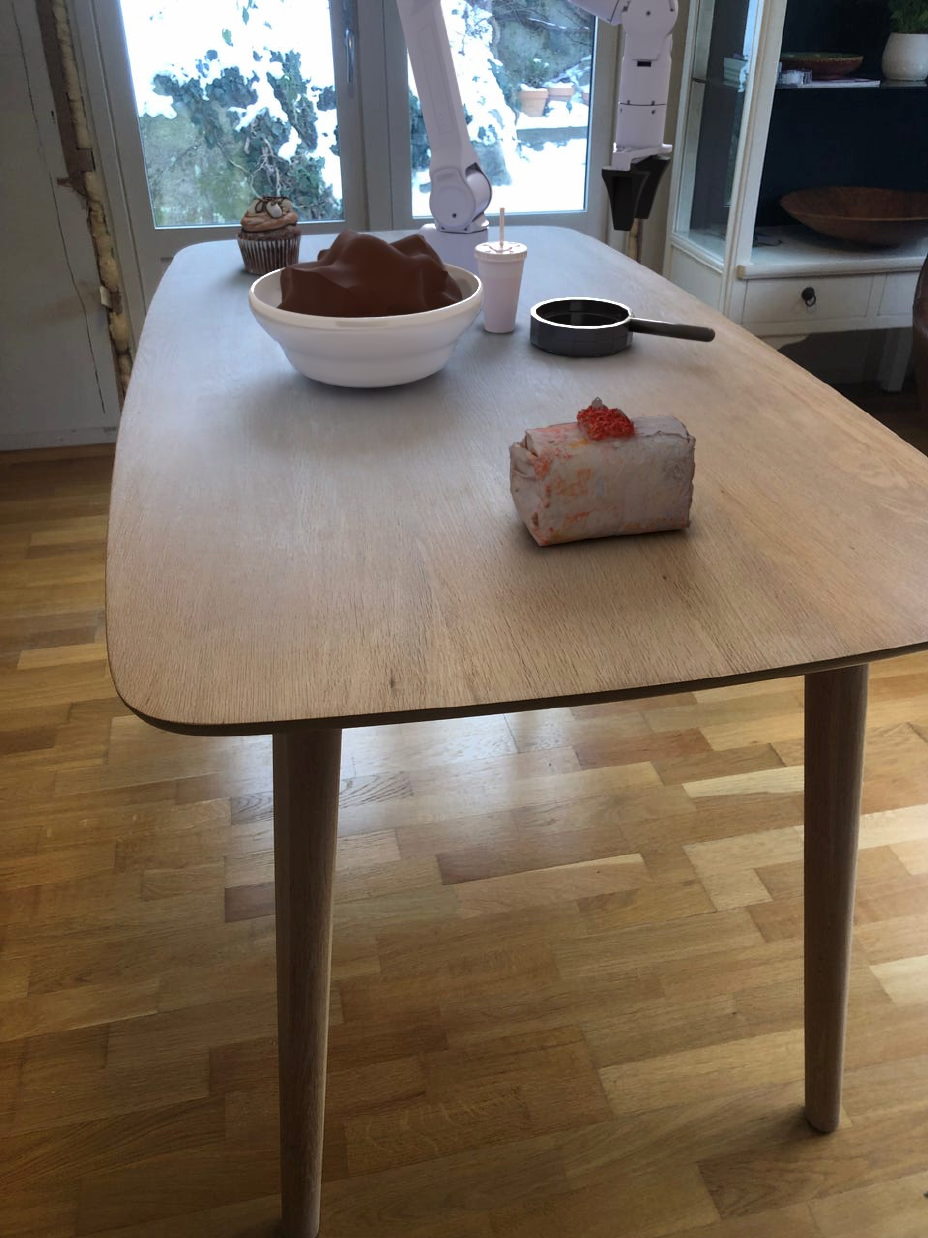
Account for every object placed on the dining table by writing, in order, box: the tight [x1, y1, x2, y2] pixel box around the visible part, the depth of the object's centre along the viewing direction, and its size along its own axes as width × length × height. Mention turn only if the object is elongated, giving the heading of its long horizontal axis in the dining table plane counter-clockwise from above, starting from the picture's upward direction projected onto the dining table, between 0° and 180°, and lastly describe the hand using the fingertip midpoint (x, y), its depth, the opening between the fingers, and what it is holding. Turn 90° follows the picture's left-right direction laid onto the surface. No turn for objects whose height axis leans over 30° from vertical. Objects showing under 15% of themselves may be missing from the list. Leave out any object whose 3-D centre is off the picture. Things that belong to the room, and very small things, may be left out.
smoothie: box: [474, 206, 528, 334], centre depth 115 cm, size 6×6×14 cm
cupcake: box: [235, 194, 303, 276], centre depth 141 cm, size 10×10×10 cm
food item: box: [508, 396, 697, 547], centre depth 74 cm, size 14×8×10 cm, turn 102°
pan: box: [529, 297, 636, 358], centre depth 114 cm, size 12×12×4 cm
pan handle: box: [629, 317, 716, 343], centre depth 110 cm, size 11×2×2 cm, turn 65°
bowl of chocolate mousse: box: [247, 229, 485, 389], centre depth 102 cm, size 25×25×15 cm
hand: (631, 223), depth 121 cm, fingers open, 7 cm apart
